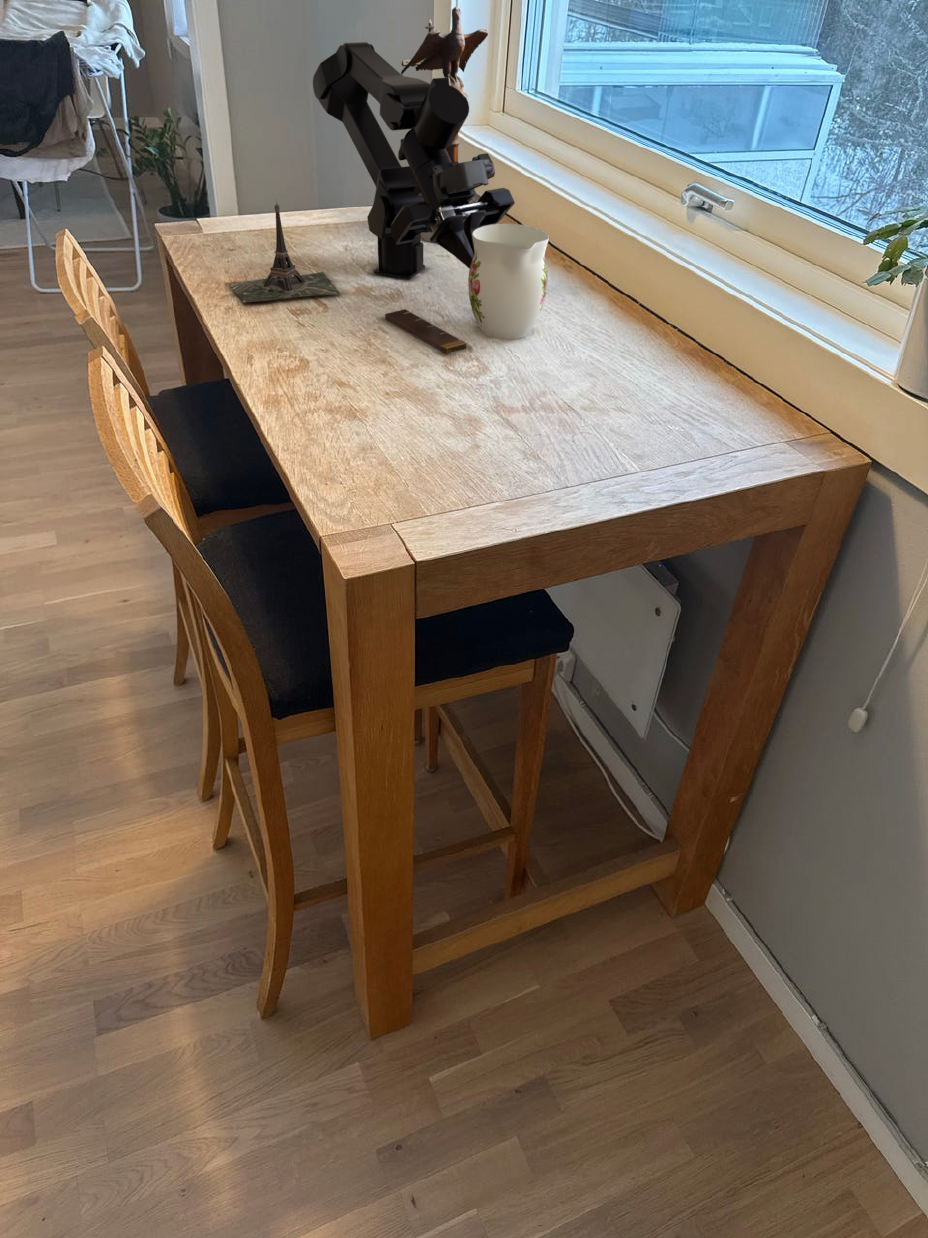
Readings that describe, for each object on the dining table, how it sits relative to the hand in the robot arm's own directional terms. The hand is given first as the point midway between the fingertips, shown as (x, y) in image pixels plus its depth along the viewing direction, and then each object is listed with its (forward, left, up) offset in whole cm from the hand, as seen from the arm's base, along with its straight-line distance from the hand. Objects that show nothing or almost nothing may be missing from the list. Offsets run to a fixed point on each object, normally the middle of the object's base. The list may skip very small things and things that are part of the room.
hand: (477, 269), depth 128 cm
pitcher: (+5, -2, -7) cm, 9 cm away
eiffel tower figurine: (-30, -4, -7) cm, 31 cm away
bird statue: (-21, +35, -7) cm, 42 cm away
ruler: (-4, -10, -7) cm, 12 cm away
